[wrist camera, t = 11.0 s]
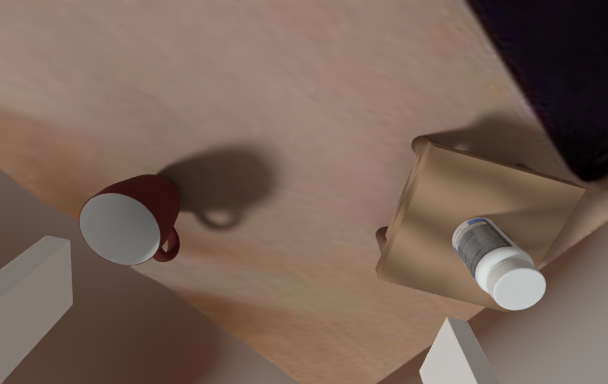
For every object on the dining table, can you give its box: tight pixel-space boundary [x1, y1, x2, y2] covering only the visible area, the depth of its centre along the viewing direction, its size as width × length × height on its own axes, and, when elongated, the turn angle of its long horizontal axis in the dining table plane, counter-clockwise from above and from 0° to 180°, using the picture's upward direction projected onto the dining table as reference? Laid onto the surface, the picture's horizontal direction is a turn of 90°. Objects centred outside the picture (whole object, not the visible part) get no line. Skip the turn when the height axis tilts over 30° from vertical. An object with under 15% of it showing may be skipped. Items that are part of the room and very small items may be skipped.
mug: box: [79, 174, 180, 266], centre depth 39 cm, size 10×8×10 cm
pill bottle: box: [452, 217, 546, 310], centre depth 32 cm, size 5×5×8 cm
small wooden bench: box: [375, 136, 586, 313], centre depth 39 cm, size 15×15×8 cm
